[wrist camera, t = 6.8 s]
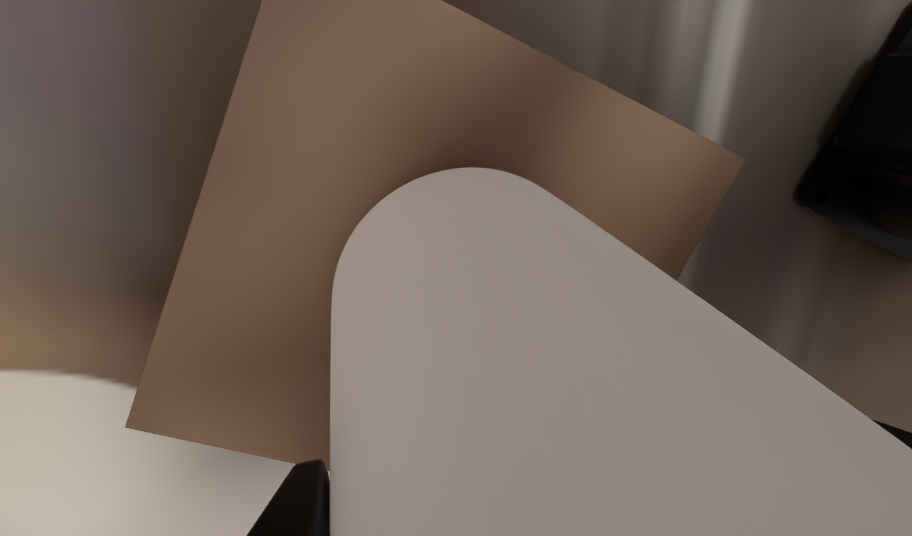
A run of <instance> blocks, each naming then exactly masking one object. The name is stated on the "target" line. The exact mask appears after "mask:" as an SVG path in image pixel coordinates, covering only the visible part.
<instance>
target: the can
mask: <svg viewBox="0 0 912 536" xmlns="http://www.w3.org/2000/svg"><path fill="white" fill-rule="evenodd" d="M330 536H912V449H911V448H910V447H908V446H907V445H906V444H904V443H903V442H901V441H900V440H899V439H897V438H896V437H895V436H893V435H892V434H890V433H889V432H888V431H886V430H885V429H883V428H882V427H881V426H879V425H878V424H877V423H875V422H874V421H872V420H871V419H870V418H868V417H867V416H865V415H864V414H863V413H861V412H860V411H858V410H857V409H856V408H854V407H853V406H852V405H850V404H849V403H847V402H846V401H845V400H843V399H842V398H840V397H839V396H838V395H836V394H835V393H833V392H832V391H831V390H829V389H828V388H827V387H825V386H824V385H822V384H821V383H820V382H818V381H817V380H815V379H814V378H813V377H811V376H810V375H808V374H807V373H806V372H804V371H803V370H801V369H800V368H799V367H797V366H796V365H794V364H793V363H792V362H790V361H789V360H787V359H786V358H785V357H783V356H782V355H780V354H779V353H777V352H776V351H775V350H773V349H772V348H770V347H769V346H768V345H766V344H765V343H763V342H762V341H761V340H759V339H758V338H756V337H755V336H754V335H752V334H751V333H749V332H748V331H747V330H745V329H744V328H742V327H741V326H739V325H738V324H737V323H735V322H734V321H732V320H731V319H730V318H728V317H727V316H725V315H724V314H723V313H721V312H720V311H718V310H717V309H716V308H714V307H713V306H711V305H710V304H708V303H707V302H706V301H704V300H703V299H701V298H700V297H699V296H697V295H696V294H694V293H693V292H691V291H690V290H689V289H687V288H686V287H684V286H683V285H682V284H680V283H679V282H677V281H676V280H674V279H673V278H672V277H670V276H669V275H667V274H666V273H665V272H663V271H662V270H660V269H659V268H657V267H656V266H655V265H653V264H652V263H650V262H649V261H648V260H646V259H645V258H643V257H642V256H640V255H639V254H638V253H636V252H635V251H633V250H632V249H630V248H629V247H628V246H626V245H625V244H623V243H622V242H620V241H619V240H618V239H616V238H615V237H613V236H612V235H610V234H609V233H608V232H606V231H605V230H603V229H602V228H600V227H599V226H598V225H596V224H595V223H593V222H592V221H590V220H589V219H588V218H586V217H585V216H583V215H582V214H580V213H579V212H577V211H576V210H575V209H573V208H572V207H570V206H569V205H567V204H566V203H564V202H563V201H561V200H560V199H558V198H557V197H555V196H554V195H553V194H551V193H549V192H548V191H546V190H545V189H543V188H542V187H540V186H538V185H536V184H535V183H533V182H531V181H529V180H527V179H524V178H522V177H520V176H517V175H514V174H511V173H508V172H505V171H500V170H495V169H489V168H476V167H467V168H455V169H448V170H443V171H439V172H435V173H432V174H428V175H425V176H423V177H420V178H418V179H415V180H413V181H411V182H409V183H407V184H405V185H403V186H401V187H400V188H398V189H396V190H395V191H393V192H392V193H390V194H389V195H387V196H386V197H385V198H383V199H382V200H381V201H380V202H379V203H378V204H376V205H375V206H374V207H373V208H372V209H371V210H370V211H369V212H368V213H367V214H366V215H365V217H364V218H363V219H362V220H361V221H360V223H359V224H358V225H357V227H356V228H355V229H354V231H353V232H352V234H351V236H350V237H349V239H348V241H347V243H346V245H345V247H344V249H343V251H342V254H341V256H340V259H339V262H338V265H337V268H336V272H335V277H334V282H333V290H332V305H331V364H330Z"/></svg>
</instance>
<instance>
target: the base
mask: <svg viewBox="0 0 912 536" xmlns="http://www.w3.org/2000/svg"><path fill="white" fill-rule="evenodd" d="M745 161H746V159H745V158H743V157H741V156H739V155H737V154H735V153H733V152H731V151H729V150H728V149H726V148H724V147H722V146H720V145H718V144H716V143H714V142H712V141H710V140H708V139H706V138H705V137H703V136H701V135H699V134H697V133H695V132H693V131H691V130H689V129H687V128H685V127H683V126H682V125H680V124H678V123H676V122H674V121H672V120H670V119H668V118H666V117H664V116H662V115H661V114H659V113H657V112H655V111H653V110H651V109H649V108H647V107H645V106H643V105H641V104H639V103H638V102H636V101H634V100H632V99H630V98H628V97H626V96H624V95H622V94H620V93H618V92H616V91H615V90H613V89H611V88H609V87H607V86H605V85H603V84H601V83H599V82H597V81H595V80H594V79H592V78H590V77H588V76H586V75H584V74H582V73H580V72H578V71H576V70H574V69H572V68H571V67H569V66H567V65H565V64H563V63H561V62H559V61H557V60H555V59H553V58H551V57H549V56H548V55H546V54H544V53H542V52H540V51H538V50H536V49H534V48H532V47H530V46H528V45H527V44H525V43H523V42H521V41H519V40H517V39H515V38H513V37H511V36H509V35H507V34H505V33H504V32H502V31H500V30H498V29H496V28H494V27H492V26H490V25H488V24H486V23H484V22H482V21H481V20H479V19H477V18H475V17H473V16H471V15H469V14H467V13H465V12H463V11H461V10H460V9H458V8H456V7H454V6H452V5H450V4H448V3H446V2H444V1H442V0H262V2H261V5H260V9H259V12H258V15H257V18H256V21H255V24H254V27H253V30H252V33H251V37H250V40H249V43H248V46H247V49H246V52H245V55H244V58H243V62H242V65H241V68H240V71H239V74H238V77H237V80H236V83H235V86H234V90H233V93H232V96H231V99H230V102H229V105H228V108H227V111H226V115H225V118H224V121H223V124H222V127H221V130H220V133H219V136H218V139H217V143H216V146H215V149H214V152H213V155H212V158H211V161H210V164H209V168H208V171H207V174H206V177H205V180H204V183H203V186H202V189H201V192H200V196H199V199H198V202H197V205H196V208H195V211H194V214H193V217H192V221H191V224H190V227H189V230H188V233H187V236H186V239H185V242H184V245H183V249H182V252H181V255H180V258H179V261H178V264H177V267H176V270H175V274H174V277H173V280H172V283H171V286H170V289H169V292H168V295H167V298H166V302H165V305H164V308H163V311H162V314H161V317H160V320H159V323H158V327H157V330H156V333H155V336H154V339H153V342H152V345H151V348H150V351H149V355H148V358H147V361H146V364H145V367H144V370H143V373H142V376H141V379H140V383H139V386H138V389H137V392H136V395H135V398H134V401H133V405H132V408H131V411H130V414H129V417H128V420H127V423H126V426H125V427H126V428H130V429H135V430H140V431H144V432H150V433H154V434H159V435H163V436H168V437H173V438H177V439H182V440H187V441H191V442H196V443H201V444H206V445H210V446H215V447H220V448H224V449H229V450H234V451H239V452H244V453H248V454H253V455H257V456H262V457H267V458H272V459H276V460H281V461H286V462H290V463H295V464H298V463H302V462H307V461H311V460H316V459H322V460H323V461H324V462H325V464H326V468H327V470H328V471H330V364H331V305H332V290H333V282H334V277H335V272H336V268H337V265H338V262H339V259H340V256H341V254H342V251H343V249H344V247H345V245H346V243H347V241H348V239H349V237H350V236H351V234H352V232H353V231H354V229H355V228H356V227H357V225H358V224H359V223H360V221H361V220H362V219H363V218H364V217H365V215H366V214H367V213H368V212H369V211H370V210H371V209H372V208H373V207H374V206H375V205H376V204H378V203H379V202H380V201H381V200H382V199H383V198H385V197H386V196H387V195H389V194H390V193H392V192H393V191H395V190H396V189H398V188H400V187H401V186H403V185H405V184H407V183H409V182H411V181H413V180H415V179H418V178H420V177H423V176H425V175H428V174H432V173H435V172H439V171H443V170H448V169H455V168H467V167H476V168H489V169H495V170H500V171H505V172H508V173H511V174H514V175H517V176H520V177H522V178H524V179H527V180H529V181H531V182H533V183H535V184H536V185H538V186H540V187H542V188H543V189H545V190H546V191H548V192H549V193H551V194H553V195H554V196H555V197H557V198H558V199H560V200H561V201H563V202H564V203H566V204H567V205H569V206H570V207H572V208H573V209H575V210H576V211H577V212H579V213H580V214H582V215H583V216H585V217H586V218H588V219H589V220H590V221H592V222H593V223H595V224H596V225H598V226H599V227H600V228H602V229H603V230H605V231H606V232H608V233H609V234H610V235H612V236H613V237H615V238H616V239H618V240H619V241H620V242H622V243H623V244H625V245H626V246H628V247H629V248H630V249H632V250H633V251H635V252H636V253H638V254H639V255H640V256H642V257H643V258H645V259H646V260H648V261H649V262H650V263H652V264H653V265H655V266H656V267H657V268H659V269H660V270H662V271H663V272H665V273H666V274H667V275H669V276H670V277H672V278H673V279H674V280H677V278H678V276H679V274H680V273H681V271H682V269H683V268H684V266H685V264H686V262H687V261H688V259H689V257H690V255H691V254H692V252H693V250H694V249H695V247H696V245H697V243H698V242H699V240H700V238H701V236H702V235H703V233H704V231H705V230H706V228H707V226H708V224H709V223H710V221H711V219H712V217H713V216H714V214H715V212H716V211H717V209H718V207H719V205H720V204H721V202H722V200H723V198H724V197H725V195H726V193H727V192H728V190H729V188H730V186H731V185H732V183H733V181H734V179H735V178H736V176H737V174H738V173H739V171H740V169H741V167H742V166H743V164H744V162H745Z"/></svg>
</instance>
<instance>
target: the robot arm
mask: <svg viewBox="0 0 912 536" xmlns="http://www.w3.org/2000/svg"><path fill="white" fill-rule="evenodd" d="M818 191H819V194H818V196H817V197H816V198H814V197H815V195H816V193H817V192H818ZM797 200H798V202H799V205H800V206H801V207H802V208H804V209H806V210H808V211H810V212H812V213H814V214H816V215H818V216H820V217H822V218H824V219H826V220H828V221H830V222H832V223H834V224H836V225H838V226H840V227H842V228H844V229H846V230H848V231H850V232H852V233H854V234H856V235H857V236H859V237H861V238H863V239H865V240H867V241H869V242H871V243H873V244H875V245H877V246H879V247H881V248H883V249H885V250H887V251H889V252H891V253H893V254H895V255H897V256H899V257H901V258H903V259H905V260H907V261H909V262H911V263H912V7H911V8H910V10H909V11H908V13H907V15H906V16H905V18H904V20H903V21H902V23H901V24H900V26H899V28H898V29H897V31H896V33H895V34H894V36H893V38H892V39H891V41H890V42H889V44H888V46H887V47H886V49H885V51H884V52H883V54H882V55H881V57H880V59H879V60H878V62H877V64H876V65H875V67H874V68H873V70H872V72H871V73H870V75H869V77H868V78H867V80H866V82H865V83H864V85H863V86H862V88H861V90H860V91H859V93H858V95H857V96H856V98H855V99H854V101H853V103H852V104H851V106H850V108H849V109H848V111H847V112H846V114H845V116H844V117H843V119H842V121H841V122H840V124H839V125H838V127H837V129H836V130H835V132H834V134H833V135H832V137H831V139H830V140H829V142H828V143H827V145H826V147H825V148H824V150H823V152H822V153H821V155H820V156H819V158H818V160H817V161H816V163H815V165H814V166H813V168H812V169H811V171H810V173H809V174H808V176H807V178H806V179H805V181H804V183H803V184H802V186H801V187H800V190H799V192H798V199H797ZM871 420H872V419H871ZM872 421H874V422H875V423H877V424H878V425H879V426H881V427H882V428H883V429H885V430H886V431H888V432H889V433H890V434H892V435H893V436H895V437H896V438H897V439H899V440H900V441H901V442H903V443H904V444H906V445H907V446H908V447H910V448H911V449H912V433H910V432H907V431H904V430H901V429H898V428H895V427H892V426H890V425H887V424H884V423H881V422H878V421H875V420H872ZM247 536H330V481H329V476H328V472H327V468H326V464H325V462H324V461H323V460H322V459H316V460H311V461H307V462H302V463H298V464H296V465H295V466H294V467H293V468H292V469H291V471H290V472H289V474H288V476H287V477H286V478H285V480H284V481H283V483H282V484H281V486H280V487H279V489H278V490H277V492H276V493H275V495H274V496H273V498H272V499H271V500H270V502H269V503H268V505H267V506H266V508H265V509H264V511H263V512H262V514H261V515H260V517H259V518H258V520H257V521H256V523H255V524H254V526H253V527H252V529H251V530H250V531H249V533H248V534H247Z"/></svg>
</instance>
